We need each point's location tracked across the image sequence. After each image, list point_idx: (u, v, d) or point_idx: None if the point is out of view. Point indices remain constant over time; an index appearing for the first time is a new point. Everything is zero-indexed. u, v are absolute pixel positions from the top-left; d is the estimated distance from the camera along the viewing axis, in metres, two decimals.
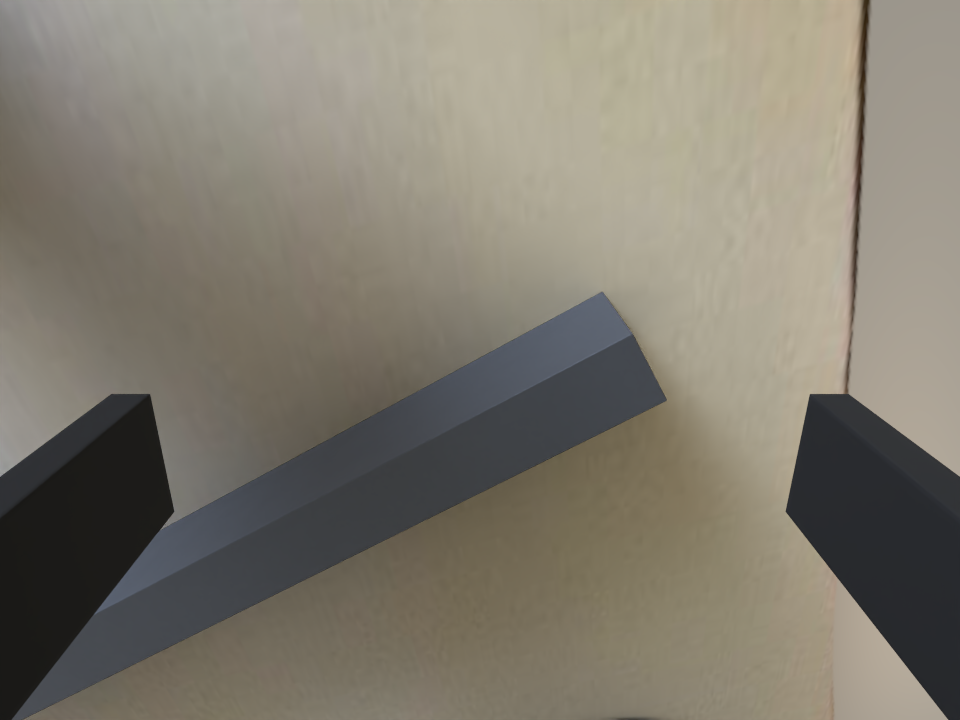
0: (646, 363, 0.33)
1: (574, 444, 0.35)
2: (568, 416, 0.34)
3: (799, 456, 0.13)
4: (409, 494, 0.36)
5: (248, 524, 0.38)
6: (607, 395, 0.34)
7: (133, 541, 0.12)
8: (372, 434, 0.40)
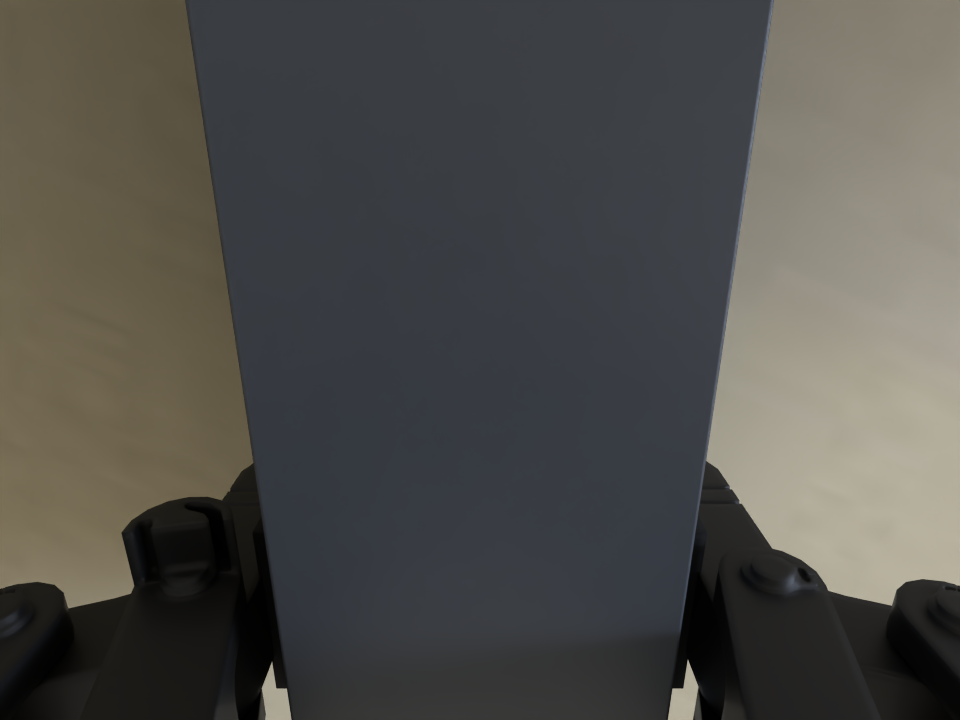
0: None
1: (289, 645, 0.07)
2: (447, 678, 0.07)
3: None
4: None
5: None
6: None
7: None
8: None
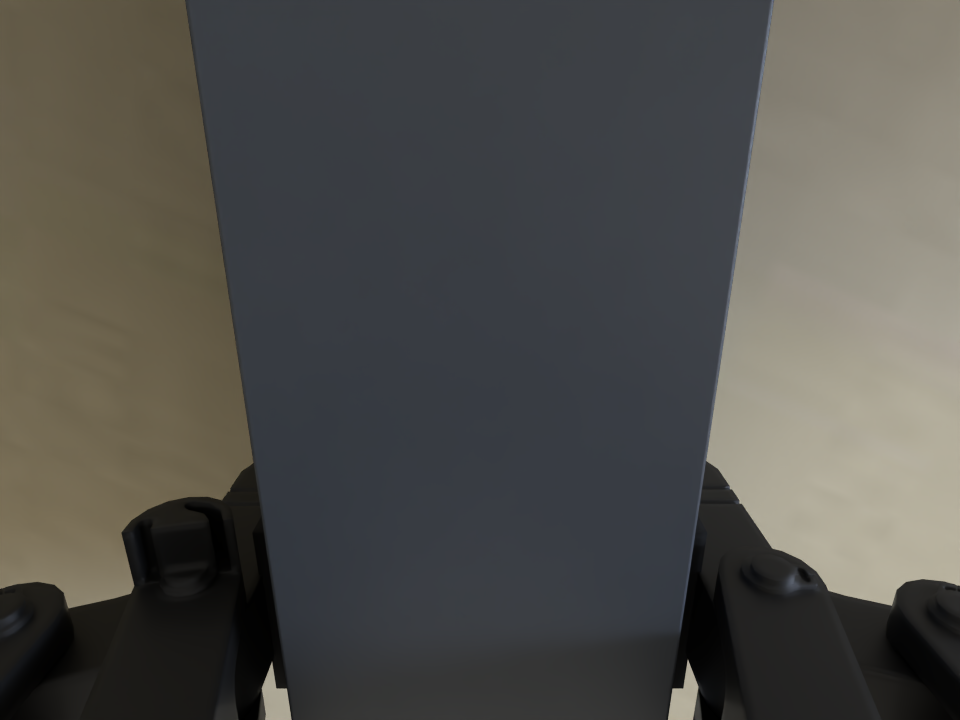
0: None
1: (289, 645, 0.07)
2: (448, 678, 0.07)
3: None
4: None
5: None
6: None
7: None
8: None
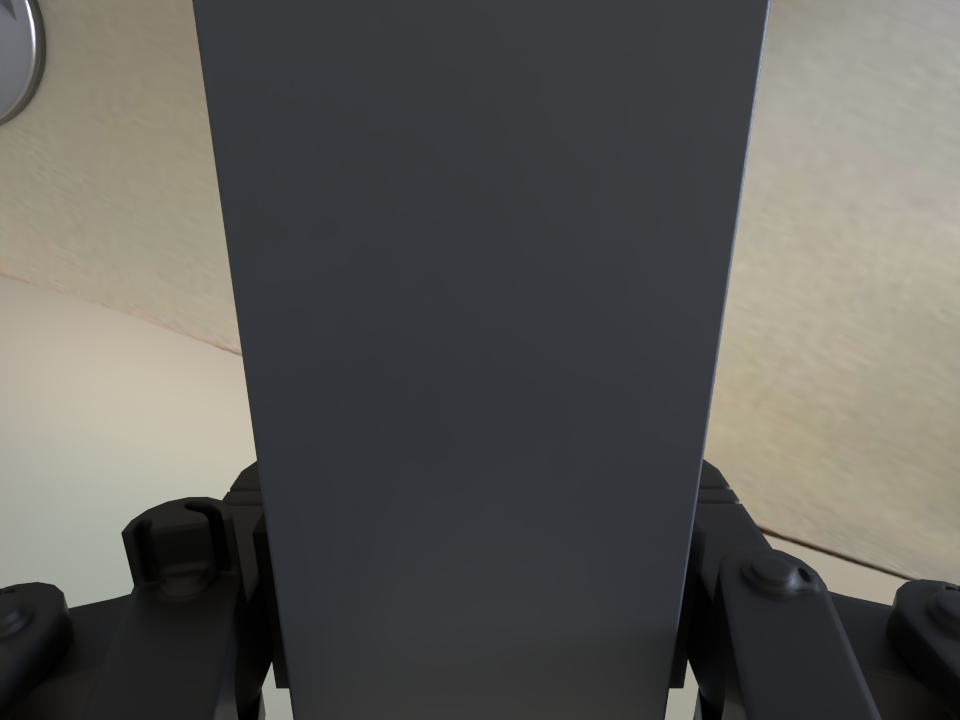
0: None
1: (291, 641, 0.07)
2: (447, 675, 0.07)
3: None
4: None
5: None
6: None
7: None
8: None
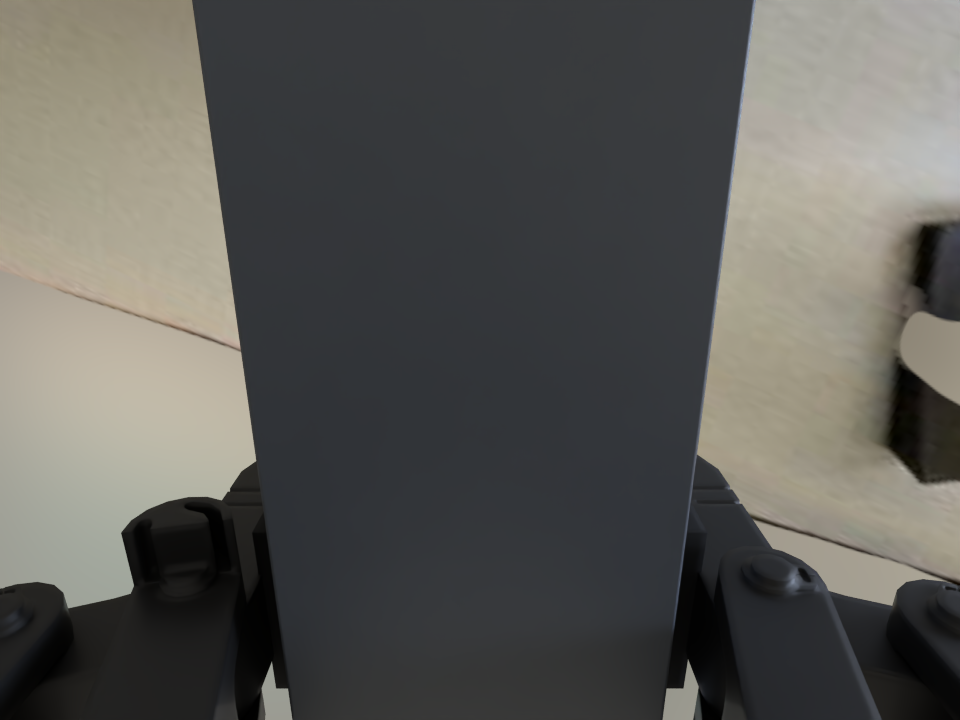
0: None
1: (289, 634, 0.07)
2: (445, 668, 0.07)
3: None
4: None
5: None
6: None
7: None
8: None
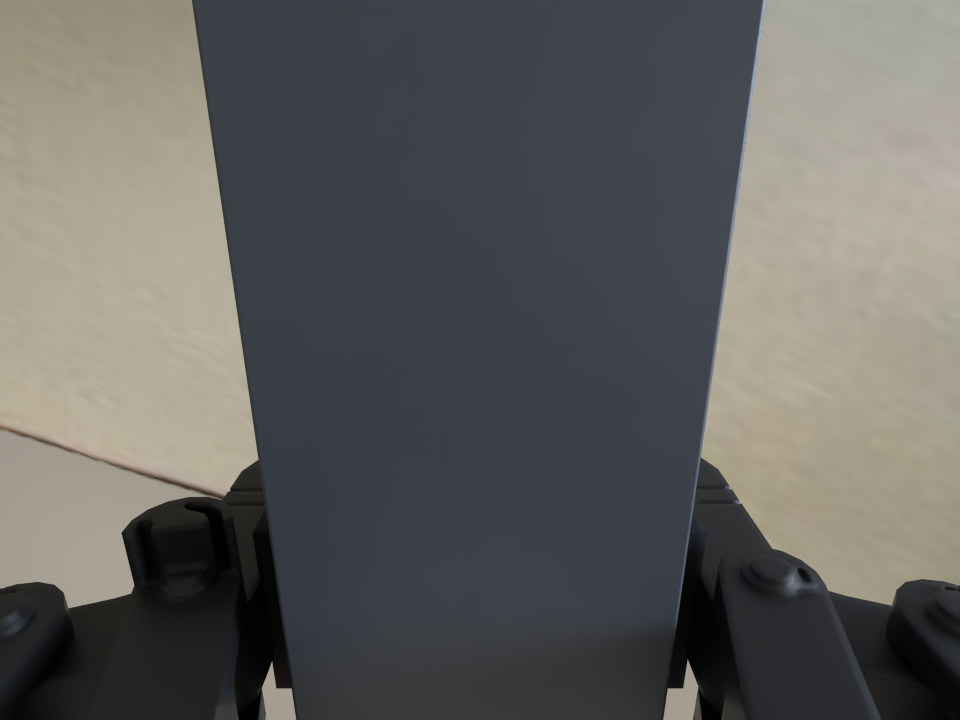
0: None
1: (293, 640, 0.07)
2: (447, 673, 0.07)
3: None
4: None
5: None
6: None
7: None
8: None
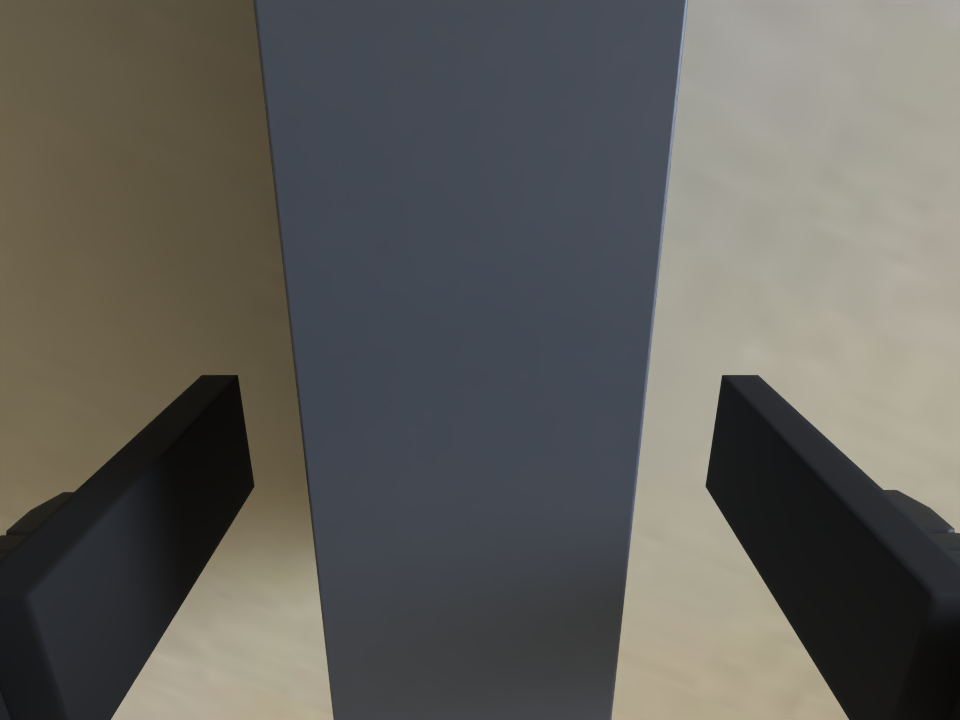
0: None
1: (320, 539, 0.09)
2: (446, 568, 0.09)
3: (715, 433, 0.14)
4: None
5: None
6: (450, 695, 0.10)
7: (226, 511, 0.13)
8: None
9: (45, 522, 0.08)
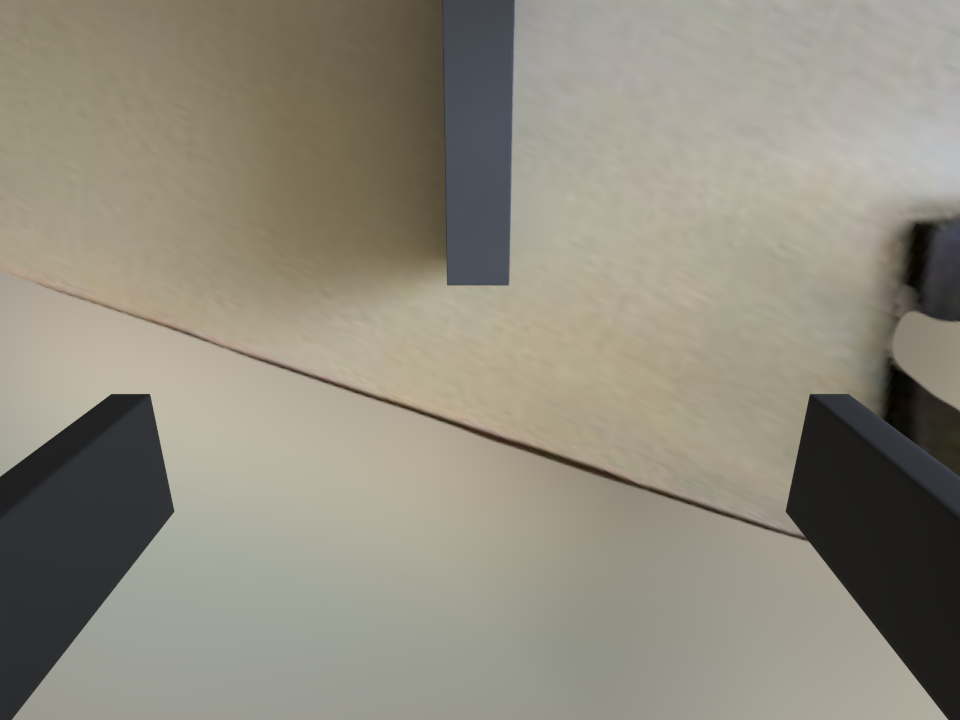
0: (482, 284, 0.44)
1: (447, 205, 0.42)
2: (473, 212, 0.43)
3: (799, 456, 0.13)
4: (474, 47, 0.39)
5: None
6: (473, 248, 0.43)
7: (133, 541, 0.12)
8: None
9: None
